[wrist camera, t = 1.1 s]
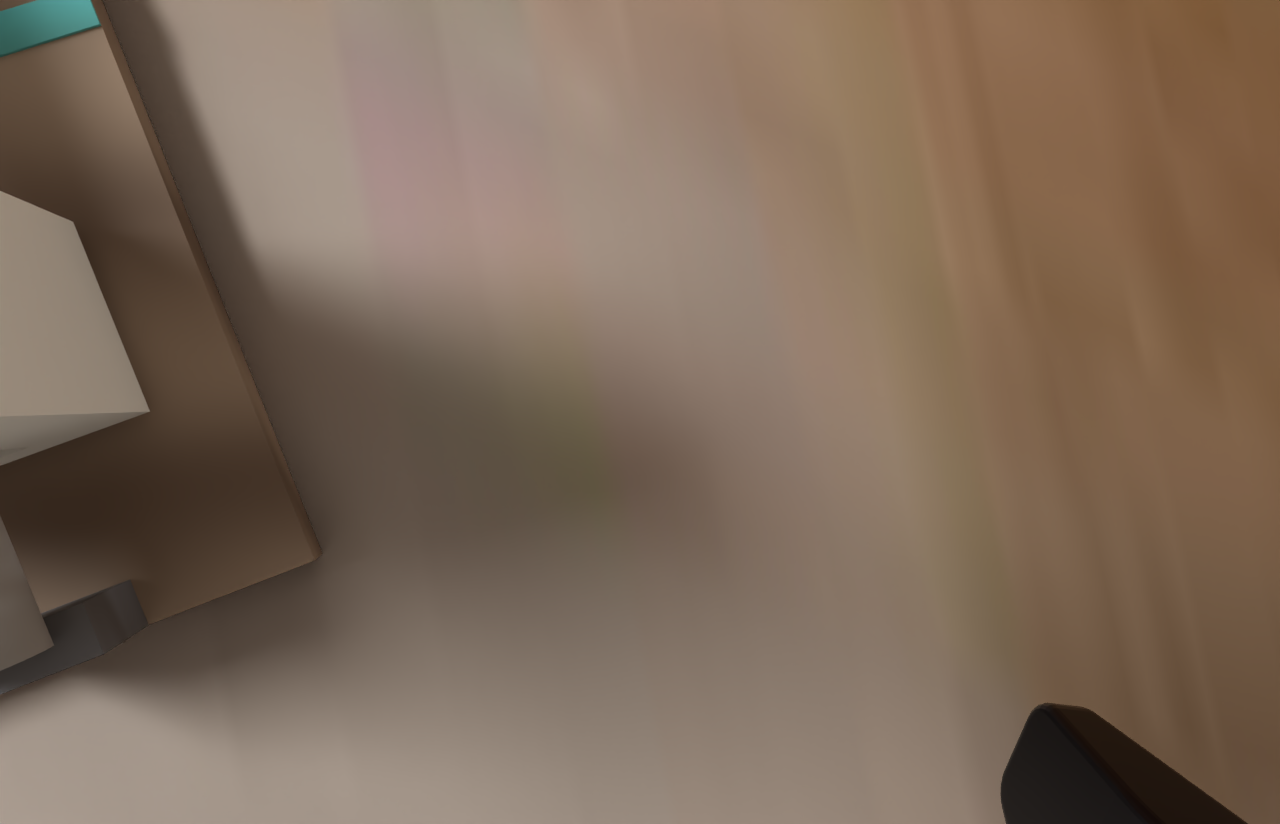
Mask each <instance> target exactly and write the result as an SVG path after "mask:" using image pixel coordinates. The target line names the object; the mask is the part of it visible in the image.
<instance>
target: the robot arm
mask: <svg viewBox="0 0 1280 824" xmlns="http://www.w3.org/2000/svg"><path fill="white" fill-rule="evenodd" d="M1001 803H1002V809H1003V813H1004V817H1005V821H1006V824H1248V823H1246V822H1245V821H1243V820H1242V819H1241V818H1239V817H1238V816H1237V815H1235V814H1234V813H1232V812H1231V811H1230V810H1228V809H1227V808H1226V807H1224V806H1223V805H1221V804H1220V803H1219V802H1217V801H1216V800H1215V799H1213V798H1212V797H1210V796H1209V795H1208V794H1206V793H1205V792H1203V791H1202V790H1201V789H1199V788H1198V787H1197V786H1195V785H1194V784H1192V783H1191V782H1190V781H1188V780H1187V779H1186V778H1184V777H1183V776H1181V775H1180V774H1179V773H1177V772H1176V771H1174V770H1173V769H1172V768H1170V767H1169V766H1168V765H1166V764H1165V763H1163V762H1162V761H1161V760H1159V759H1158V758H1157V757H1155V756H1154V755H1152V754H1151V753H1150V752H1148V751H1147V750H1146V749H1144V748H1143V747H1141V746H1140V745H1139V744H1137V743H1136V742H1134V741H1133V740H1132V739H1130V738H1129V737H1128V736H1126V735H1125V734H1123V733H1122V732H1121V731H1119V730H1118V729H1117V728H1115V727H1114V726H1112V725H1111V724H1110V723H1108V722H1107V721H1105V720H1104V719H1103V718H1101V717H1100V716H1099V715H1097V714H1096V713H1094V712H1093V711H1091V710H1089V709H1087V708H1084V707H1079V706H1071V705H1062V704H1053V703H1043V704H1040V705H1038V706H1037V707H1035V708H1034V709H1033V710H1032V711H1031V713H1030V715H1029V717H1028V719H1027V721H1026V723H1025V726H1024V728H1023V730H1022V732H1021V735H1020V737H1019V739H1018V741H1017V744H1016V746H1015V748H1014V750H1013V753H1012V755H1011V757H1010V759H1009V762H1008V764H1007V766H1006V768H1005V771H1004V774H1003V777H1002V782H1001Z"/></svg>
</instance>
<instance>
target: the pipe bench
mask: <svg viewBox="0 0 1280 824" xmlns="http://www.w3.org/2000/svg"><path fill="white" fill-rule="evenodd" d="M0 191H2V192H4V193H6V194H9V195H11V196H13V197H16V198H18V199H21V200H23V201H25V202H28V203H30V204H32V205H35V206H37V207H39V208H42V209H44V210H46V211H49V212H51V213H54V214H56V215H58V216H61V217H63V218H65V219H68V220H70V221H72V222H73V223H74V225H75V228H76V230H77V233H78V235H79V238H80V240H81V243H82V245H83V247H84V250H85V252H86V255H87V257H88V260H89V262H90V265H91V267H92V270H93V272H94V275H95V277H96V280H97V282H98V284H99V287H100V289H101V292H102V294H103V297H104V299H105V302H106V304H107V307H108V309H109V312H110V314H111V317H112V319H113V321H114V324H115V326H116V329H117V331H118V334H119V336H120V339H121V341H122V344H123V346H124V349H125V351H126V354H127V356H128V358H129V361H130V363H131V366H132V368H133V371H134V373H135V376H136V378H137V381H138V383H139V386H140V388H141V391H142V393H143V395H144V398H145V400H146V403H147V405H148V408H149V410H150V412H147V413H145V414H142V415H139V416H136V417H134V418H131V419H128V420H125V421H123V422H120V423H117V424H114V425H112V426H109V427H106V428H103V429H100V430H98V431H95V432H92V433H89V434H87V435H84V436H81V437H78V438H76V439H73V440H70V441H67V442H65V443H62V444H59V445H56V446H53V447H51V448H48V449H45V450H42V451H40V452H37V453H34V454H31V455H29V456H26V457H23V458H20V459H18V460H15V461H12V462H9V463H7V464H4V465H1V466H0V694H3V693H5V692H8V691H10V690H13V689H16V688H18V687H21V686H23V685H26V684H28V683H31V682H34V681H36V680H39V679H41V678H44V677H46V676H49V675H52V674H54V673H57V672H59V671H62V670H64V669H67V668H70V667H72V666H75V665H77V664H80V663H82V662H85V661H88V660H90V659H93V658H95V657H98V656H100V655H103V654H105V653H106V652H108V651H110V650H111V649H113V648H114V647H116V646H117V645H119V644H120V643H122V642H123V641H125V640H126V639H128V638H129V637H131V636H132V635H134V634H136V633H137V632H139V631H140V630H142V629H143V628H145V627H146V626H148V625H150V624H152V623H155V622H158V621H160V620H163V619H165V618H168V617H170V616H173V615H176V614H178V613H181V612H183V611H186V610H188V609H191V608H194V607H196V606H199V605H201V604H204V603H207V602H209V601H212V600H214V599H217V598H219V597H222V596H225V595H227V594H230V593H232V592H235V591H238V590H240V589H243V588H245V587H248V586H250V585H253V584H256V583H258V582H261V581H263V580H266V579H269V578H271V577H274V576H276V575H279V574H281V573H284V572H287V571H289V570H292V569H294V568H297V567H299V566H302V565H305V564H307V563H310V562H312V561H315V560H316V559H317V558H318V557H319V556H320V555H322V554H323V553H322V551H321V548H320V546H319V543H318V541H317V538H316V536H315V533H314V531H313V528H312V526H311V523H310V521H309V518H308V516H307V513H306V511H305V508H304V506H303V503H302V501H301V498H300V496H299V493H298V491H297V488H296V486H295V483H294V481H293V478H292V476H291V473H290V471H289V468H288V466H287V463H286V461H285V458H284V456H283V453H282V451H281V448H280V445H279V443H278V440H277V438H276V435H275V433H274V430H273V428H272V425H271V423H270V420H269V418H268V415H267V413H266V410H265V408H264V405H263V403H262V400H261V398H260V395H259V393H258V390H257V388H256V385H255V383H254V380H253V378H252V375H251V373H250V370H249V368H248V365H247V363H246V360H245V358H244V355H243V353H242V350H241V348H240V345H239V343H238V340H237V338H236V335H235V333H234V330H233V328H232V325H231V322H230V320H229V317H228V315H227V312H226V310H225V307H224V305H223V302H222V300H221V297H220V295H219V292H218V290H217V287H216V285H215V282H214V280H213V277H212V275H211V272H210V270H209V267H208V265H207V262H206V260H205V257H204V255H203V252H202V250H201V247H200V245H199V242H198V240H197V237H196V235H195V232H194V230H193V227H192V225H191V222H190V220H189V217H188V215H187V212H186V210H185V207H184V205H183V202H182V199H181V197H180V194H179V192H178V189H177V187H176V184H175V182H174V179H173V177H172V174H171V172H170V169H169V167H168V164H167V162H166V159H165V157H164V154H163V152H162V149H161V147H160V144H159V142H158V139H157V137H156V134H155V132H154V129H153V127H152V124H151V122H150V119H149V117H148V114H147V112H146V109H145V107H144V104H143V102H142V99H141V97H140V94H139V92H138V89H137V87H136V84H135V81H134V79H133V76H132V74H131V71H130V69H129V66H128V64H127V61H126V59H125V56H124V54H123V51H122V49H121V46H120V44H119V41H118V39H117V36H116V34H115V31H114V29H113V26H112V24H111V21H110V19H109V16H108V14H107V11H106V9H105V6H104V4H103V1H102V0H0Z"/></svg>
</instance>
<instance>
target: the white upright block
mask: <svg viewBox="0 0 1280 824" xmlns="http://www.w3.org/2000/svg"><path fill="white" fill-rule="evenodd" d="M147 412H150V410H149V408H148V405H147V403H146V400H145V398H144V395H143V393H142V391H141V388H140V386H139V383H138V381H137V378H136V376H135V373H134V371H133V368H132V366H131V363H130V361H129V358H128V356H127V354H126V351H125V349H124V346H123V344H122V341H121V339H120V336H119V334H118V331H117V329H116V326H115V324H114V321H113V319H112V317H111V314H110V312H109V309H108V307H107V304H106V302H105V299H104V297H103V294H102V292H101V289H100V287H99V284H98V282H97V280H96V277H95V275H94V272H93V270H92V267H91V265H90V262H89V260H88V257H87V255H86V252H85V250H84V247H83V245H82V243H81V240H80V238H79V235H78V233H77V230H76V228H75V225H74V223H73V222H72V221H70V220H68V219H65V218H63V217H61V216H58V215H56V214H54V213H51V212H49V211H46V210H44V209H42V208H39V207H37V206H35V205H32V204H30V203H28V202H25V201H23V200H21V199H18V198H16V197H13V196H11V195H9V194H6V193H4V192H2V191H0V466H1V465H4V464H7V463H9V462H12V461H15V460H18V459H20V458H23V457H26V456H29V455H31V454H34V453H37V452H40V451H42V450H45V449H48V448H51V447H53V446H56V445H59V444H62V443H65V442H67V441H70V440H73V439H76V438H78V437H81V436H84V435H87V434H89V433H92V432H95V431H98V430H100V429H103V428H106V427H109V426H112V425H114V424H117V423H120V422H123V421H125V420H128V419H131V418H134V417H136V416H139V415H142V414H145V413H147Z"/></svg>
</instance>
